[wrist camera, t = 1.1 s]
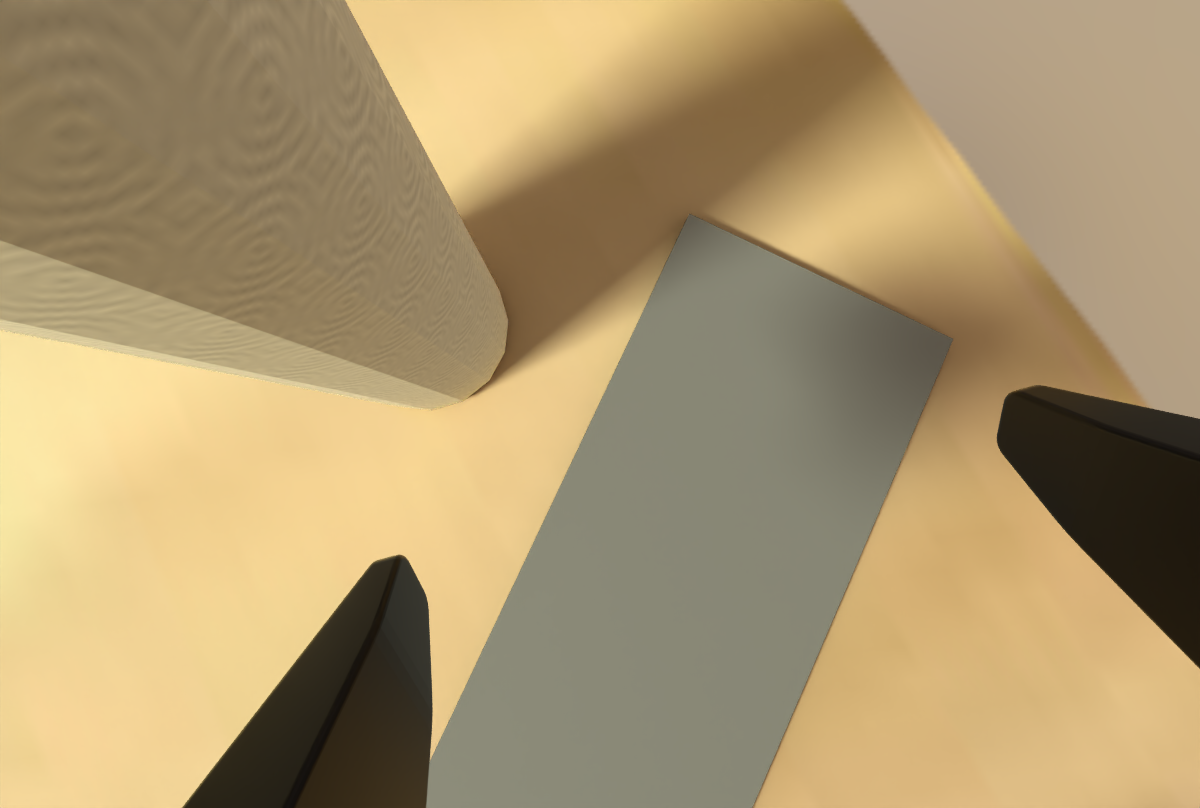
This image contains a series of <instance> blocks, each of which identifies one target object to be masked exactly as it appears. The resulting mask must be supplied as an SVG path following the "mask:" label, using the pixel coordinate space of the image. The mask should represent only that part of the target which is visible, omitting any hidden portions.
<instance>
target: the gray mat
mask: <svg viewBox="0 0 1200 808" xmlns="http://www.w3.org/2000/svg"><path fill="white" fill-rule="evenodd" d="M952 341H953V339H952V338H950V337H948V336H946V335H944V334H942V333H940V332H937V331H935V330H933V329H931V328H929V327H927V326H925V325H923V324H921V323H919V322H916V321H914V320H912V319H910V318H908V317H906V316H904V315H902V314H900V313H898V312H895V311H893V310H891V309H889V308H887V307H885V306H883V305H881V304H879V303H876V302H874V301H872V300H870V299H868V298H866V297H864V296H862V295H860V294H858V293H855V292H853V291H851V290H849V289H847V288H845V287H843V286H841V285H839V284H837V283H834V282H832V281H830V280H828V279H826V278H824V277H822V276H820V275H818V274H815V273H813V272H811V271H809V270H807V269H805V268H803V267H801V266H799V265H797V264H794V263H792V262H790V261H788V260H786V259H784V258H782V257H780V256H778V255H776V254H773V253H771V252H769V251H767V250H765V249H763V248H761V247H759V246H757V245H754V244H752V243H750V242H748V241H746V240H744V239H742V238H740V237H738V236H736V235H733V234H731V233H729V232H727V231H725V230H723V229H721V228H719V227H717V226H715V225H712V224H710V223H708V222H706V221H704V220H702V219H700V218H698V217H696V216H693V215H691V214H689V216H688V218H687V220H686V222H685V224H684V226H683V228H682V230H681V232H680V235H679V237H678V239H677V241H676V243H675V245H674V247H673V249H672V251H671V254H670V256H669V258H668V260H667V262H666V264H665V266H664V268H663V270H662V273H661V275H660V277H659V279H658V281H657V283H656V285H655V287H654V289H653V292H652V294H651V296H650V298H649V300H648V302H647V304H646V306H645V308H644V311H643V313H642V315H641V317H640V319H639V321H638V323H637V325H636V327H635V330H634V332H633V334H632V336H631V338H630V340H629V342H628V344H627V346H626V349H625V351H624V353H623V355H622V357H621V359H620V361H619V363H618V365H617V368H616V370H615V372H614V374H613V376H612V378H611V380H610V382H609V384H608V387H607V389H606V391H605V393H604V395H603V397H602V399H601V401H600V403H599V406H598V408H597V410H596V412H595V414H594V416H593V418H592V420H591V422H590V425H589V427H588V429H587V431H586V433H585V435H584V437H583V439H582V441H581V444H580V446H579V448H578V450H577V452H576V454H575V456H574V458H573V460H572V463H571V465H570V467H569V469H568V471H567V473H566V475H565V477H564V479H563V482H562V484H561V486H560V488H559V490H558V492H557V494H556V496H555V498H554V501H553V503H552V505H551V507H550V509H549V511H548V513H547V515H546V517H545V520H544V522H543V524H542V526H541V528H540V530H539V532H538V534H537V536H536V539H535V541H534V543H533V545H532V547H531V549H530V551H529V553H528V556H527V558H526V560H525V562H524V564H523V566H522V568H521V570H520V572H519V575H518V577H517V579H516V581H515V583H514V585H513V587H512V589H511V591H510V594H509V596H508V598H507V600H506V602H505V604H504V606H503V608H502V610H501V613H500V615H499V617H498V619H497V621H496V623H495V625H494V627H493V629H492V632H491V634H490V636H489V638H488V640H487V642H486V644H485V646H484V648H483V651H482V653H481V655H480V657H479V659H478V661H477V663H476V665H475V667H474V670H473V672H472V674H471V676H470V678H469V680H468V682H467V684H466V686H465V689H464V691H463V693H462V695H461V697H460V699H459V701H458V703H457V705H456V708H455V710H454V712H453V714H452V716H451V718H450V720H449V722H448V724H447V727H446V729H445V731H444V733H443V735H442V737H441V739H440V741H439V743H438V746H437V748H436V750H435V752H434V754H433V756H432V758H431V760H430V762H429V776H428V790H427V804H426V808H752V807H753V805H754V803H755V800H756V798H757V796H758V793H759V791H760V789H761V786H762V784H763V782H764V779H765V777H766V775H767V772H768V770H769V768H770V765H771V763H772V761H773V758H774V756H775V754H776V751H777V749H778V747H779V744H780V742H781V740H782V737H783V735H784V733H785V730H786V728H787V726H788V723H789V721H790V719H791V716H792V714H793V712H794V709H795V707H796V705H797V702H798V700H799V698H800V695H801V693H802V691H803V688H804V686H805V684H806V681H807V679H808V677H809V674H810V672H811V670H812V667H813V665H814V663H815V660H816V658H817V656H818V653H819V651H820V649H821V646H822V644H823V642H824V639H825V637H826V635H827V632H828V630H829V628H830V625H831V623H832V621H833V618H834V616H835V614H836V611H837V609H838V607H839V604H840V602H841V600H842V597H843V595H844V593H845V590H846V588H847V586H848V583H849V581H850V579H851V576H852V574H853V572H854V569H855V567H856V565H857V562H858V560H859V558H860V555H861V553H862V551H863V548H864V546H865V544H866V541H867V539H868V537H869V534H870V532H871V530H872V527H873V525H874V523H875V520H876V518H877V516H878V513H879V511H880V509H881V506H882V504H883V502H884V499H885V497H886V495H887V492H888V490H889V488H890V485H891V483H892V481H893V478H894V476H895V474H896V471H897V469H898V467H899V464H900V462H901V460H902V457H903V455H904V453H905V450H906V448H907V446H908V443H909V441H910V439H911V436H912V434H913V432H914V429H915V427H916V425H917V422H918V420H919V418H920V415H921V413H922V411H923V408H924V406H925V404H926V401H927V399H928V397H929V394H930V392H931V390H932V387H933V385H934V383H935V380H936V378H937V376H938V373H939V371H940V369H941V366H942V364H943V362H944V359H945V357H946V355H947V352H948V350H949V348H950V345H951V343H952Z"/></svg>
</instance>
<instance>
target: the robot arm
mask: <svg viewBox="0 0 1200 808" xmlns="http://www.w3.org/2000/svg"><path fill="white" fill-rule="evenodd" d="M997 443H998V447H999V449H1000V451H1001V453H1002V454H1003V455H1004V457H1005V458H1006V459H1007V460H1008V462H1009V463H1010V464H1011V465H1012V466H1013V468H1014V469H1015V470H1016V471H1017V473H1018V474H1019V475H1020V476H1021V478H1022V479H1023V480H1024V481H1025V482H1026V484H1027V485H1028V486H1029V487H1030V489H1031V490H1032V491H1033V492H1034V494H1035V495H1036V496H1037V497H1038V498H1039V500H1040V501H1041V502H1042V503H1043V505H1044V506H1045V507H1046V508H1047V510H1048V511H1049V512H1050V513H1051V514H1052V516H1053V517H1054V518H1055V519H1056V521H1057V522H1058V523H1059V524H1060V525H1061V527H1062V528H1063V529H1064V530H1065V531H1066V532H1067V534H1068V535H1069V536H1070V537H1071V538H1072V539H1073V540H1074V541H1075V542H1076V543H1077V544H1078V545H1079V546H1080V548H1081V549H1082V550H1083V551H1084V552H1085V553H1086V554H1087V555H1088V556H1089V557H1090V558H1091V559H1092V560H1093V561H1094V562H1095V563H1096V564H1097V565H1098V566H1099V567H1100V568H1101V569H1102V570H1103V571H1104V572H1105V573H1106V574H1107V575H1108V576H1109V577H1110V578H1111V579H1112V580H1113V581H1114V582H1115V583H1116V584H1117V585H1118V586H1119V587H1120V588H1121V589H1122V590H1123V591H1124V592H1125V593H1126V594H1127V595H1128V596H1129V597H1130V598H1131V599H1132V600H1133V601H1134V602H1135V603H1136V605H1137V606H1138V607H1139V608H1140V609H1141V610H1142V611H1143V612H1144V613H1145V614H1146V615H1147V616H1148V617H1149V618H1150V619H1151V620H1152V621H1153V622H1154V623H1155V624H1156V625H1157V626H1158V627H1159V628H1160V629H1161V630H1162V631H1163V632H1164V633H1165V634H1166V635H1167V636H1168V637H1169V638H1170V639H1171V640H1172V641H1173V642H1174V643H1175V644H1176V645H1177V646H1178V647H1179V648H1180V649H1181V650H1182V651H1183V652H1184V653H1185V654H1186V655H1187V656H1188V657H1189V658H1190V659H1191V660H1192V661H1193V662H1194V663H1195V665H1196V666H1197V667H1198V668H1199V669H1200V419H1198V418H1193V417H1188V416H1183V415H1179V414H1173V413H1169V412H1165V411H1160V410H1155V409H1150V408H1146V407H1141V406H1136V405H1132V404H1127V403H1122V402H1117V401H1113V400H1108V399H1103V398H1099V397H1094V396H1089V395H1084V394H1080V393H1075V392H1070V391H1066V390H1061V389H1056V388H1051V387H1047V386H1041V385H1036V386H1031V387H1027V388H1023V389H1019V390H1016V391H1013V392H1011V393H1009V394H1008V395H1007V397H1006V398H1005V400H1004V404H1003V409H1002V413H1001V418H1000V423H999V428H998V433H997ZM431 734H432V680H431V656H430V632H429V609H428V602H427V597H426V594H425V592H424V590H423V588H422V586H421V584H420V582H419V580H418V578H417V576H416V574H415V572H414V571H413V569H412V567H411V565H410V563H409V561H408V560H407V558H406V557H405V556H403V555H395V556H392V557H388V558H384V559H380V560H377V561H375V562H373V563H372V564H371V565H370V566H369V568H368V569H367V570H366V571H365V573H364V574H363V575H362V577H361V578H360V579H359V580H358V582H357V583H356V584H355V586H354V587H353V588H352V589H351V591H350V592H349V593H348V595H347V596H346V597H345V598H344V600H343V601H342V602H341V604H340V605H339V606H338V608H337V609H336V610H335V611H334V613H333V614H332V615H331V617H330V618H329V619H328V620H327V622H326V623H325V624H324V626H323V627H322V628H321V629H320V631H319V632H318V633H317V635H316V636H315V637H314V638H313V640H312V641H311V642H310V644H309V645H308V646H307V647H306V649H305V650H304V651H303V653H302V654H301V655H300V656H299V658H298V659H297V660H296V662H295V663H294V664H293V666H292V667H291V668H290V669H289V671H288V672H287V673H286V675H285V676H284V677H283V678H282V680H281V681H280V682H279V684H278V685H277V686H276V687H275V689H274V690H273V691H272V693H271V694H270V695H269V696H268V698H267V699H266V700H265V702H264V703H263V704H262V705H261V707H260V708H259V709H258V711H257V712H256V713H255V714H254V716H253V717H252V718H251V720H250V721H249V722H248V724H247V725H246V726H245V727H244V729H243V730H242V731H241V733H240V734H239V735H238V736H237V738H236V739H235V740H234V742H233V743H232V744H231V745H230V747H229V748H228V749H227V751H226V752H225V753H224V754H223V756H222V757H221V758H220V760H219V761H218V762H217V763H216V765H215V766H214V767H213V769H212V770H211V771H210V773H209V774H208V775H207V776H206V778H205V779H204V780H203V782H202V783H201V784H200V785H199V787H198V788H197V789H196V791H195V792H194V793H193V794H192V796H191V797H190V798H189V800H188V801H187V802H186V803H185V805H184V806H183V807H182V808H426V804H427V790H428V776H429V762H430V748H431Z"/></svg>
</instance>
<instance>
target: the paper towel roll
mask: <svg viewBox="0 0 1200 808" xmlns="http://www.w3.org/2000/svg"><path fill="white" fill-rule="evenodd" d="M507 329H508V318H507V314H506V311H505V308H504V304H503V301H502V297H501V294H500V291H499V289H498V287H497V285H496V283H495V281H494V279H493V277H492V276H491V274H490V272H489V270H488V268H487V266H486V264H485V262H484V261H483V259H482V257H481V255H480V253H479V251H478V249H477V247H476V246H475V244H474V242H473V240H472V238H471V236H470V234H469V232H468V230H467V229H466V227H465V225H464V223H463V221H462V219H461V217H460V215H459V214H458V212H457V210H456V208H455V206H454V204H453V202H452V200H451V199H450V197H449V195H448V193H447V191H446V189H445V187H444V185H443V184H442V182H441V180H440V178H439V176H438V174H437V172H436V170H435V169H434V167H433V165H432V163H431V161H430V159H429V157H428V155H427V153H426V152H425V150H424V148H423V146H422V144H421V142H420V140H419V138H418V137H417V135H416V133H415V131H414V129H413V127H412V125H411V123H410V122H409V120H408V118H407V116H406V114H405V112H404V110H403V108H402V107H401V105H400V103H399V101H398V99H397V97H396V95H395V93H394V91H393V90H392V88H391V86H390V84H389V82H388V80H387V78H386V76H385V75H384V73H383V71H382V69H381V67H380V65H379V63H378V61H377V60H376V58H375V56H374V54H373V52H372V50H371V48H370V46H369V45H368V43H367V41H366V39H365V37H364V35H363V33H362V31H361V29H360V28H359V26H358V24H357V22H356V20H355V18H354V16H353V14H352V13H351V11H350V9H349V7H348V5H347V3H346V1H345V0H0V330H1V331H6V332H12V333H17V334H22V335H27V336H32V337H38V338H43V339H48V340H53V341H59V342H64V343H69V344H74V345H79V346H85V347H90V348H95V349H100V350H105V351H111V352H116V353H121V354H126V355H132V356H137V357H142V358H147V359H152V360H158V361H163V362H168V363H173V364H179V365H184V366H189V367H194V368H199V369H205V370H210V371H215V372H220V373H226V374H231V375H236V376H241V377H246V378H252V379H257V380H262V381H267V382H273V383H278V384H283V385H288V386H293V387H299V388H304V389H309V390H314V391H320V392H325V393H330V394H335V395H340V396H346V397H351V398H356V399H361V400H367V401H372V402H377V403H382V404H387V405H393V406H398V407H406V408H416V409H425V410H434V409H438V408H441V407H445V406H448V405H452V404H455V403H458V402H462V401H464V400H465V399H467V398H468V397H469V396H470V395H472V394H473V393H474V392H476V391H477V390H478V389H479V388H481V387H482V386H483V385H484V384H486V383H487V382H488V381H489V380H490V378H491V376H492V375H493V373H494V371H495V369H496V367H497V366H498V364H499V362H500V360H501V359H502V357H503V355H504V353H505V346H506V338H507Z"/></svg>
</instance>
